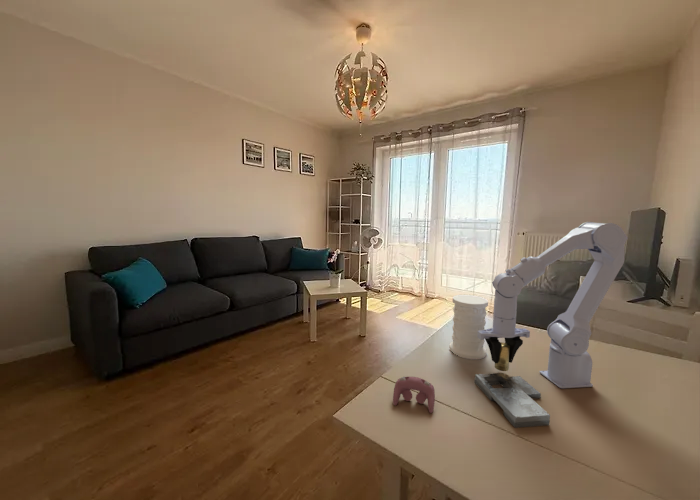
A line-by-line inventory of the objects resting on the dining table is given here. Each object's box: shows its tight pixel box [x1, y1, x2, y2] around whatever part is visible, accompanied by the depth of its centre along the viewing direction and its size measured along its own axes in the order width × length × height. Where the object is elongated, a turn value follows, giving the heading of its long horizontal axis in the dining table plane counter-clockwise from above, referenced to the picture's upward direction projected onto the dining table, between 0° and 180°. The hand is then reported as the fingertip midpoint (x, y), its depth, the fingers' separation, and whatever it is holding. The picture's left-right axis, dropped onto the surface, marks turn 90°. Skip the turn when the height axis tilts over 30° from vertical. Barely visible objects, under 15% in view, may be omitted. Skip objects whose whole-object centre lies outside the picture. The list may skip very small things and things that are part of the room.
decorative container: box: [449, 294, 489, 360], centre depth 98 cm, size 12×12×18 cm
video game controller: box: [392, 376, 436, 414], centre depth 72 cm, size 10×5×7 cm, turn 71°
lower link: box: [474, 375, 542, 402], centre depth 77 cm, size 13×8×1 cm, turn 95°
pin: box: [494, 341, 510, 372], centre depth 85 cm, size 4×4×7 cm
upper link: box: [474, 372, 551, 428], centre depth 72 cm, size 8×17×2 cm, turn 5°
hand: (501, 361), depth 85 cm, fingers closed on pin, 4 cm apart
